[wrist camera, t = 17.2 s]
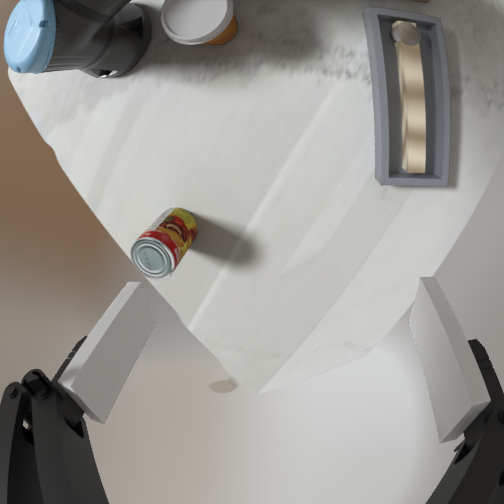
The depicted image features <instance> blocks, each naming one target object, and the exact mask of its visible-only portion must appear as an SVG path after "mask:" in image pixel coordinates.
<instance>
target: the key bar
mask: <svg viewBox="0 0 504 504" xmlns="http://www.w3.org/2000/svg"><path fill="white" fill-rule="evenodd" d="M390 36H391V39H392V41H393V42H394V43H395V49H396V57H397V65H398V74H399V84H400V97H401V113H402V168H403V169H404V170H406V171H407V172H408V173H425V161H426V115H425V95H424V82H423V71H422V62H421V54H420V47H419V42H420V39H421V35H420V32H419V30H418V29H417V28H416V23H410V22H403V21H396V22H395V23H393V24H392V29H391V32H390Z"/></svg>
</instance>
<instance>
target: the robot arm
mask: <svg viewBox="0 0 504 504" xmlns="http://www.w3.org/2000/svg"><path fill="white" fill-rule="evenodd" d="M130 1H131V0H20V1H19V3H18V4H17V5H16V7H15V8H14V10H13V12H12V14H11V16H10V18H9V20H8V23H7V27H6V30H5V36H4V54H5V58H6V61H7V63H8V65H9V67H10V68H11V69H12V70H14V71H15V72H18V73H34V74H37V73H38V74H39V73H43V72H52V71H62V70H74V69H79V70H81V71H83V72H85V73H87V74H89V75H91V76H93V77H97V78H113V77H117V76H120V75H122V74H124V73H126V72H128V71H129V70H130V69H132V68H133V67H134V66H135V65H136V64H137V63H138V62H139V61H140V59H141V58H142V56H143V55H144V53H145V51H146V49H147V47H148V45H149V41H150V37H151V23H150V19H149V17H148V15H147V13H146V12H145V11H144V10H143V9H142V8H140V7H139V6H136V5H134V4H131V3H129V2H130ZM156 324H157V322H156V320H155V318H154V315H153V313H152V310H151V308H150V305H149V303H148V300H147V298H146V295H145V293H144V290H143V287H142V285H141V283H140V282H128V283H127V284H126V286H125V287H124V288H123V289H122V291H121V292H120V293H119V295H118V296H117V297H116V299H115V300H114V301H113V302H112V304H111V305H110V307H109V308H108V309H107V311H106V312H105V313H104V315H103V316H102V317H101V319H100V320H99V321H98V323H97V324H96V326H95V327H94V328H93V330H92V331H91V333H90V334H89V335H88V336H85V337H84V338H82V339H81V340H80V341H79V342H78V343H77V344H76V345H75V347H74V348H73V350H72V352H71V353H70V354H69V355H68V358H67V359H66V360H65V361H64V363H63V364H62V366H61V367H60V369H59V370H58V372H57V374H56V375H55V376H54V378H53V379H52V381H50V380H49V379H48V378H47V377H46V375H45V374H44V373H43V372H42V371H41V370H40V369H33V370H31V371H29V372H28V373H27V374H26V375H25V376H24V377H23V379H22V382H21V384H20V383H19V382H13V383H11V384H9V385H8V386H7V387H6V389H5V391H4V393H3V397H2V401H1V404H0V504H109V502H108V499H107V497H106V494H105V491H104V488H103V485H102V482H101V479H100V476H99V473H98V469H97V466H96V462H95V459H94V455H93V452H92V448H91V444H90V440H89V435H88V431H87V427H86V422H85V420H84V418H83V417H82V416H83V414H84V412H85V413H86V414H87V415H88V416H89V417H90V418H91V419H92V420H95V421H97V422H100V423H103V424H104V423H105V422H106V419H107V417H108V415H109V413H110V411H111V409H112V407H113V405H114V403H115V401H116V399H117V397H118V395H119V393H120V391H121V389H122V387H123V385H124V383H125V382H126V380H127V377H128V376H129V374H130V372H131V370H132V368H133V366H134V364H135V362H136V360H137V359H138V357H139V355H140V353H141V351H142V349H143V347H144V346H145V344H146V342H147V340H148V338H149V336H150V334H151V333H152V331H153V329H154V327H155V325H156ZM409 326H410V329H411V332H412V335H413V338H414V341H415V345H416V347H417V351H418V354H419V358H420V361H421V365H422V368H423V372H424V375H425V379H426V383H427V387H428V391H429V395H430V399H431V403H432V408H433V412H434V417H435V422H436V427H437V432H438V436H439V442H440V443H443V442H447V441H451V440H454V439H457V438H458V437H459V436H460V435H461V434H462V433H463V432H464V437H465V439H464V440H463V441H462V442H461V443H460V444H459V445H458V446H457V447H456V449H455V450H454V451H455V452H456V451H457V450H458V449H459V450H458V452H457V453H456V455H455V457H454V459H453V461H452V463H451V464H450V466H449V468H448V470H447V471H446V473H445V475H444V476H443V478H442V480H441V481H440V483H439V484H438V486H437V488H436V489H435V491H434V492H433V494H432V495H431V496H430V498H429V499H428V501H427V502H426V504H504V393H503V391H502V388H501V385H500V383H499V380H498V378H497V375H496V373H495V371H494V369H493V368H492V367H493V366H492V363H491V361H490V360H489V357H488V354H487V352H486V350H485V348H484V347H483V346H482V344H481V343H480V342H479V341H478V340H477V339H475V340H468V341H467V339H466V336H465V334H464V332H463V330H462V328H461V326H460V324H459V322H458V320H457V318H456V316H455V314H454V312H453V310H452V308H451V306H450V304H449V302H448V300H447V298H446V296H445V294H444V293H443V291H442V289H441V287H440V285H439V284H438V282H437V280H436V278H435V277H420V281H419V285H418V289H417V293H416V297H415V301H414V305H413V309H412V313H411V316H410V320H409ZM23 421H25V422H26V423H27V424H28V428H27V429H26V428H25V427H24V426H23Z"/></svg>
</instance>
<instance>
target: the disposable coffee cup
mask: <svg viewBox="0 0 504 504" xmlns="http://www.w3.org/2000/svg"><path fill="white" fill-rule="evenodd" d="M160 17H161V23H162V27H163V30H164V32H165V33H166V34H167V36H169V37H170V38H171V39H172V40H174V41H176V42H178V43H181V44H187V45H193V44H201V43H203V44H211V45H221V44H224V43H227V42H228V41H230V40H231V39H232V38H233V37H234V36H235V34H236V32H237V29H238V24H237V21H236V18H235V15H234V4H233V1H232V0H166V1H165V2H164V4H163V6H162V9H161V14H160Z"/></svg>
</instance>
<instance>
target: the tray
mask: <svg viewBox="0 0 504 504" xmlns="http://www.w3.org/2000/svg"><path fill="white" fill-rule="evenodd" d="M363 18H364V24H365V30H366V37H367V44H368V51H369V60H370V69H371V79H372V90H373V104H374V123H375V178H376V180H377V181H378V182H379V183H380V184H381V185H408V186H441V187H447V185H448V174H449V159H450V132H451V115H450V88H449V74H448V64H447V55H446V47H445V40H444V34H443V28H442V23H441V18H437V17H432V16H428V15H423V14H418V13H412V12H406V11H400V10H393V9H385V8H376V7H367V9H366V10H365V11H364V12H363ZM396 21H403V22H410V23H416V28H417V29H418V30H419V32H420V35H421V39H420V42H419V47H420V54H421V62H422V71H423V82H424V95H425V115H426V161H425V173H408V172H407V171H406V170H404V169H403V168H402V113H401V97H400V84H399V74H398V65H397V57H396V49H395V43H394V42H393V41H392V39H391V36H390V32H391V29H392V24H393V23H395V22H396Z"/></svg>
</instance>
